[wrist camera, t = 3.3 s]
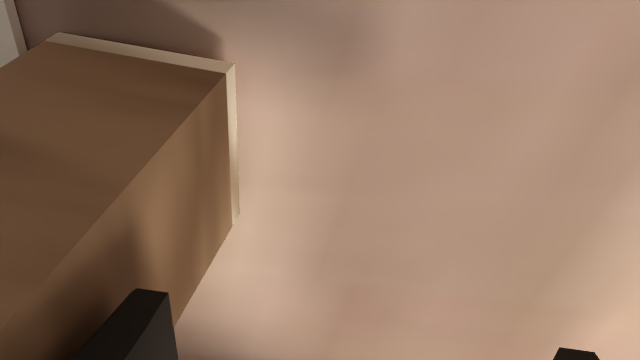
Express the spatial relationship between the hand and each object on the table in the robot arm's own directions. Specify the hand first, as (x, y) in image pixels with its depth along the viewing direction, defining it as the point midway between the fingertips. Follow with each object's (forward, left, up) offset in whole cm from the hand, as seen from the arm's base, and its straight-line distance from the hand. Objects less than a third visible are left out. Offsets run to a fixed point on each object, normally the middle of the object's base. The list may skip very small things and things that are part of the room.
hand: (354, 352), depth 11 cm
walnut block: (0, +6, -7) cm, 9 cm away
